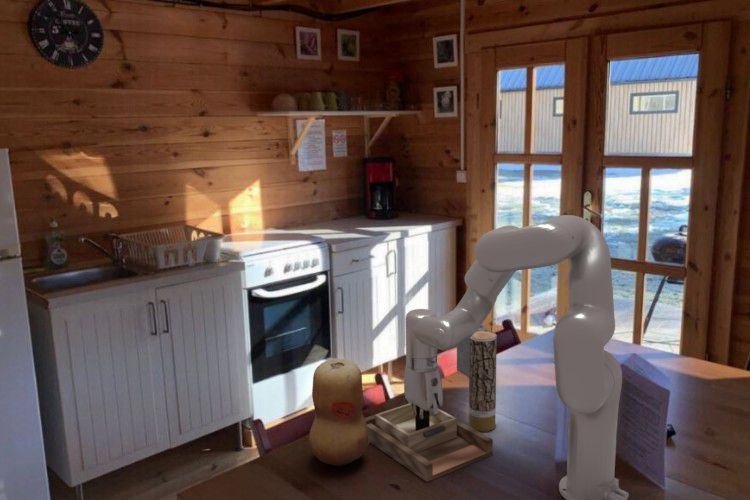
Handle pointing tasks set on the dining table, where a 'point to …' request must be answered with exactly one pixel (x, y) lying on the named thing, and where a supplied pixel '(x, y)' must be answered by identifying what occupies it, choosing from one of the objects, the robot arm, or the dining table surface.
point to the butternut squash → (338, 413)
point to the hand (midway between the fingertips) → (422, 430)
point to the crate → (403, 429)
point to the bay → (434, 451)
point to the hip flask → (465, 354)
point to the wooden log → (482, 380)
